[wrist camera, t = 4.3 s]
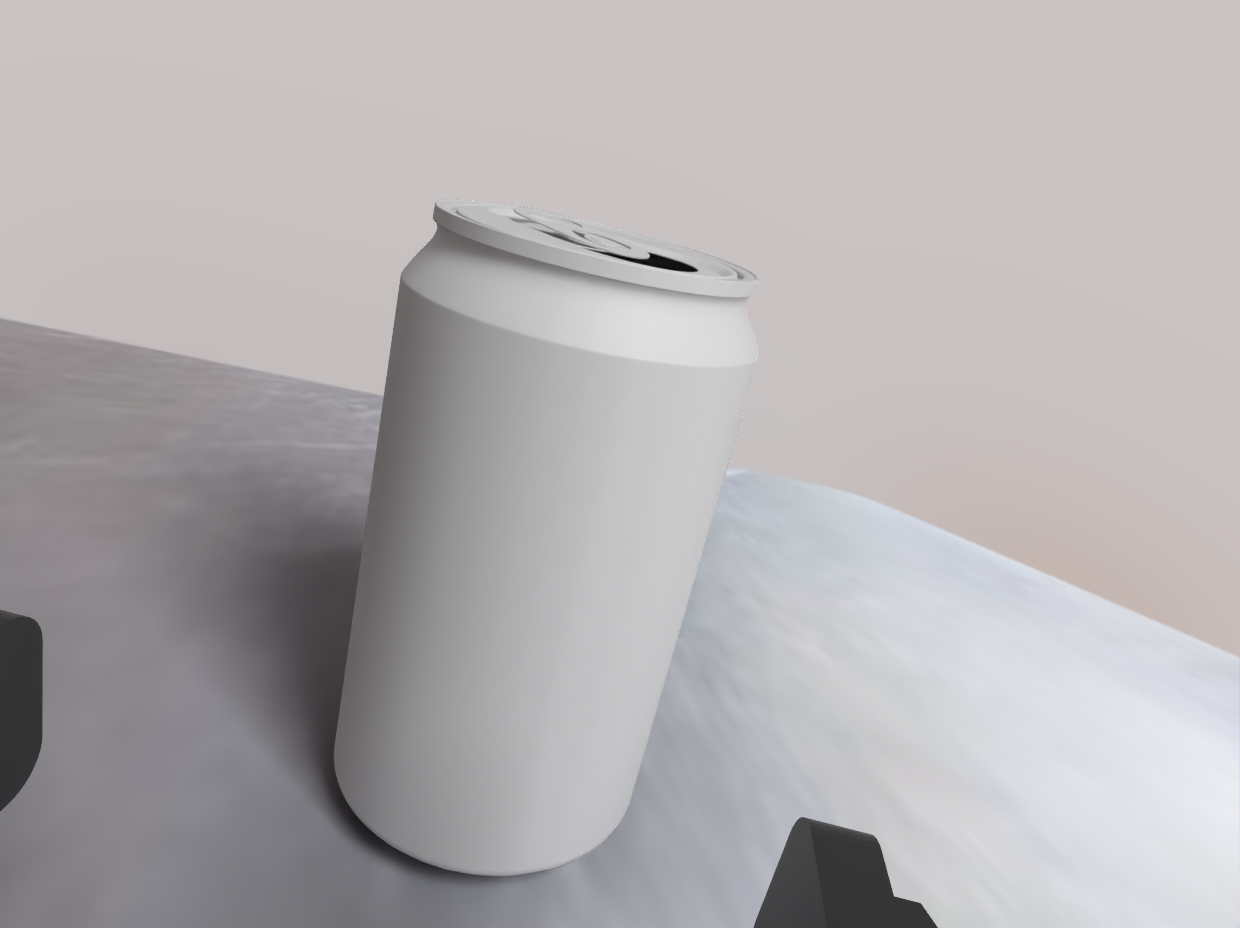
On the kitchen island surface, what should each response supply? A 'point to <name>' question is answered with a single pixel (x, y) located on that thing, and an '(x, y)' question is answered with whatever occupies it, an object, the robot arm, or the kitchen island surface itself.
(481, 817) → the beverage can
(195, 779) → the kitchen island surface
